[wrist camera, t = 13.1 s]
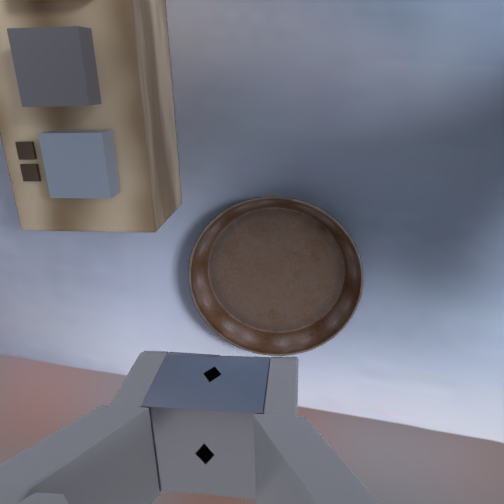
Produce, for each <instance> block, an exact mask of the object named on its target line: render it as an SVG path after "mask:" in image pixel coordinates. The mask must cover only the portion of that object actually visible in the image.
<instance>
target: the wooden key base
mask: <svg viewBox="0 0 504 504" xmlns="http://www.w3.org/2000/svg"><path fill="white" fill-rule="evenodd" d="M63 26H81V27H86V28H91V30H92V38H93V45H94V52H95V59H96V67H97V74H98V81H99V89H100V96H101V103H102V104H98V105H92V106H52V107H22V103H21V98H20V93H19V88H18V83H17V78H16V73H15V68H14V63H13V58H12V53H11V48H10V43H9V38H8V33H7V28H34V27H63ZM110 129H112V130H113V138H114V145H115V153H116V160H117V168H118V176H119V183H120V191H121V192H120V193H119V194H117V195H116V196H114V197H113V198H111V199H104V198H50V193H49V188H48V183H47V177H46V172H45V167H44V162H43V156H42V151H41V146H40V141H39V135H38V133H41V132H46V131H50V130H110ZM0 133H1V138H2V142H3V147H4V151H5V156H6V160H7V165H8V169H9V174H10V179H11V183H12V188H13V192H14V197H15V201H16V206H17V210H18V215H19V219H20V224H21V228H22V230H45V231H103V232H156V231H157V230H158V229H159V228H160V226H161V225H162V224H163V223H164V222H165V221H166V220H167V219H168V218H169V217H170V216H171V215H172V213H173V212H174V211H175V210H176V209H177V208H178V207H179V206H180V205H181V204H182V199H181V187H180V174H179V162H178V150H177V137H176V125H175V113H174V100H173V88H172V75H171V63H170V51H169V38H168V26H167V13H166V1H165V0H50V1H25V0H0Z"/></svg>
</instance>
